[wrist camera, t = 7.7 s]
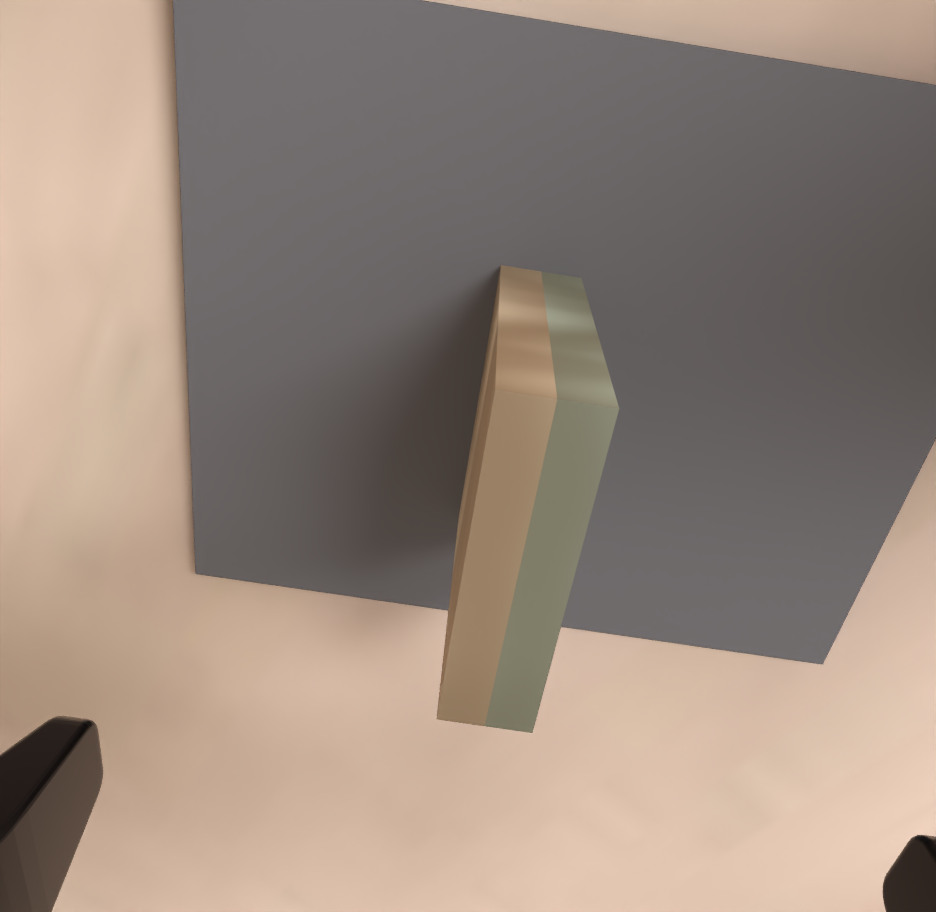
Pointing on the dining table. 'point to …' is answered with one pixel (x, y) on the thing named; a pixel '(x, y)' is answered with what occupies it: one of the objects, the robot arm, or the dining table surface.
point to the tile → (525, 498)
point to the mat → (566, 253)
